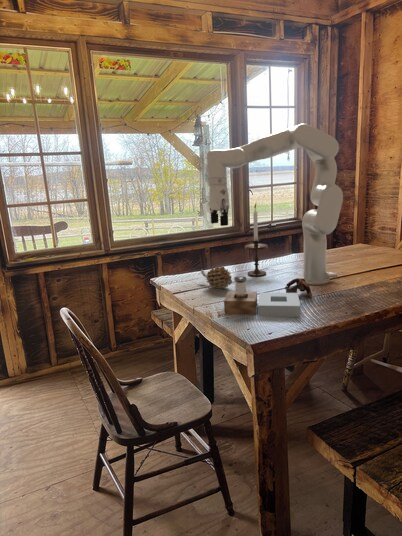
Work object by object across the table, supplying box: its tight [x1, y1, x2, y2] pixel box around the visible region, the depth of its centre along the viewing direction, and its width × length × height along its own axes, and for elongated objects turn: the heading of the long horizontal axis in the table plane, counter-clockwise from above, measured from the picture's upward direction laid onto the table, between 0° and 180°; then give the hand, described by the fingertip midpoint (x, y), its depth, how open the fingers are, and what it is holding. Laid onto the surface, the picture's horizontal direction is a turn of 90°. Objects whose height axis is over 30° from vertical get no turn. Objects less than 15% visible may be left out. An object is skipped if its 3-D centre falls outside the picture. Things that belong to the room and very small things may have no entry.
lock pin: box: [234, 275, 247, 298], centre depth 134 cm, size 4×4×12 cm
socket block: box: [257, 292, 301, 318], centre depth 132 cm, size 14×14×4 cm
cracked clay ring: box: [284, 277, 313, 299], centre depth 146 cm, size 12×10×8 cm
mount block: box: [223, 290, 258, 316], centre depth 135 cm, size 11×11×5 cm
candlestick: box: [244, 203, 268, 278], centre depth 176 cm, size 11×11×35 cm
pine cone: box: [200, 266, 233, 289], centre depth 164 cm, size 22×10×10 cm, turn 38°
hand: (219, 224), depth 152 cm, fingers open, 9 cm apart
